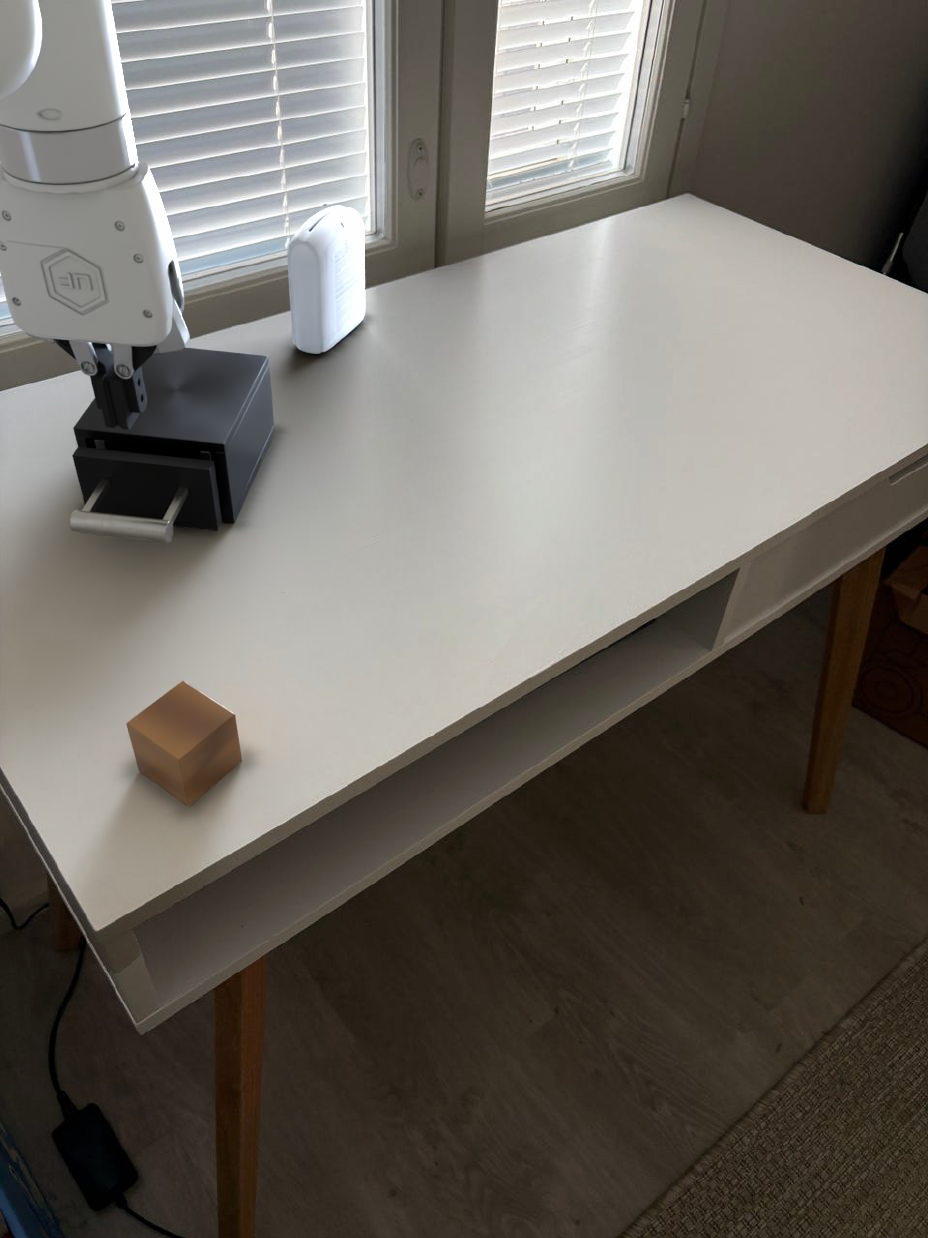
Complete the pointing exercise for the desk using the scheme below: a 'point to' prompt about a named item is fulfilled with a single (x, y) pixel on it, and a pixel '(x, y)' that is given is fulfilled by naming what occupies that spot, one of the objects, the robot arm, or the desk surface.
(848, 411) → the desk surface
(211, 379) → the black drawer unit
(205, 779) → the tan wooden cube
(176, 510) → the drawer with bar handle
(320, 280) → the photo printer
